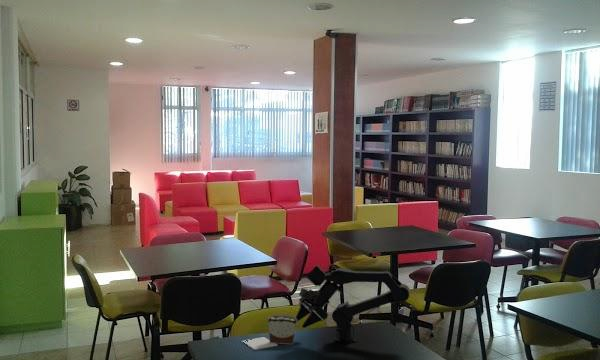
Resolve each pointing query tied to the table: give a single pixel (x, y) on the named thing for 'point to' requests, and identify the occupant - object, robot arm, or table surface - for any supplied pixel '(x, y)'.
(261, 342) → the mat
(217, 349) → the table surface
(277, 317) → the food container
